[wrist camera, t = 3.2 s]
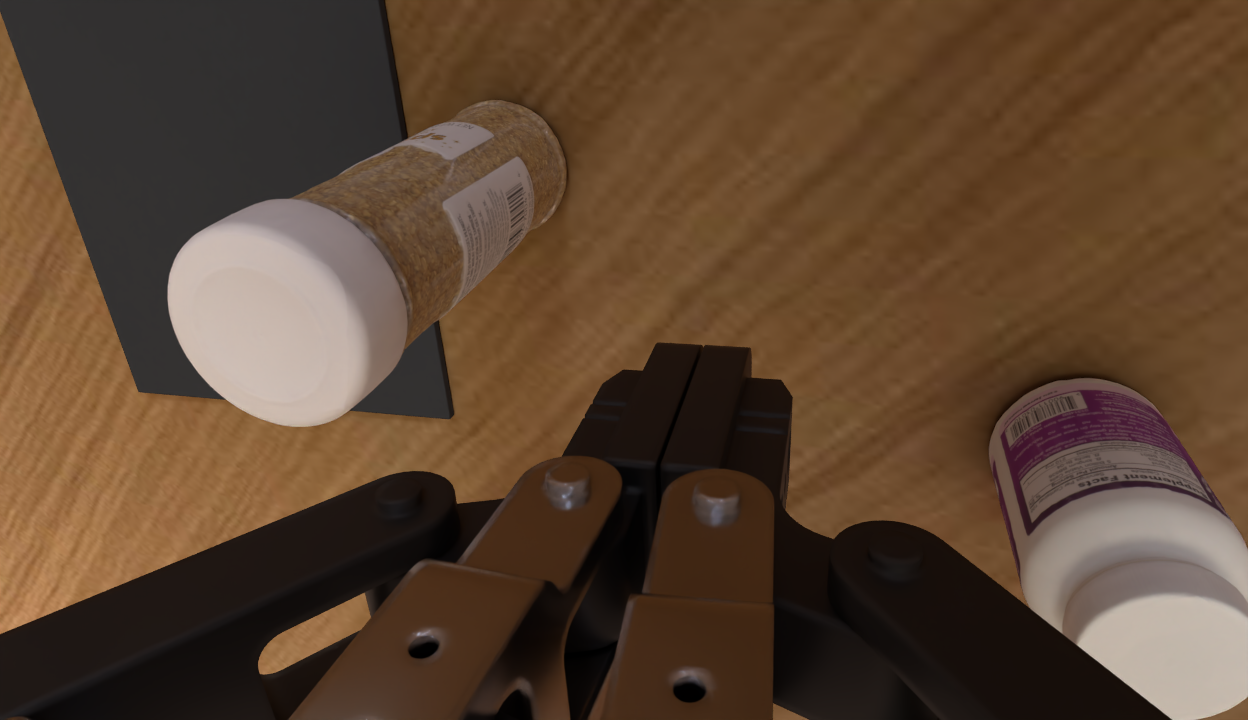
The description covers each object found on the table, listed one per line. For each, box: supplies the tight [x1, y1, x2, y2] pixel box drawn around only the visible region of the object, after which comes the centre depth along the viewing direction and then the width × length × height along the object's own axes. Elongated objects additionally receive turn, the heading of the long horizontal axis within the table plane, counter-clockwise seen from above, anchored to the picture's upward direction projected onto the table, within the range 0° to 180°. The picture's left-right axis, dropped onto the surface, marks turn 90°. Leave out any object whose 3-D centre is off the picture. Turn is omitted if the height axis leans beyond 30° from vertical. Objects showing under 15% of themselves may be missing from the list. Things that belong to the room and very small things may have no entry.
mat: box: [0, 0, 454, 419], centre depth 30 cm, size 20×15×1 cm
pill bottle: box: [989, 378, 1248, 720], centre depth 23 cm, size 5×5×10 cm
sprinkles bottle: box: [168, 100, 567, 427], centre depth 22 cm, size 5×5×14 cm
